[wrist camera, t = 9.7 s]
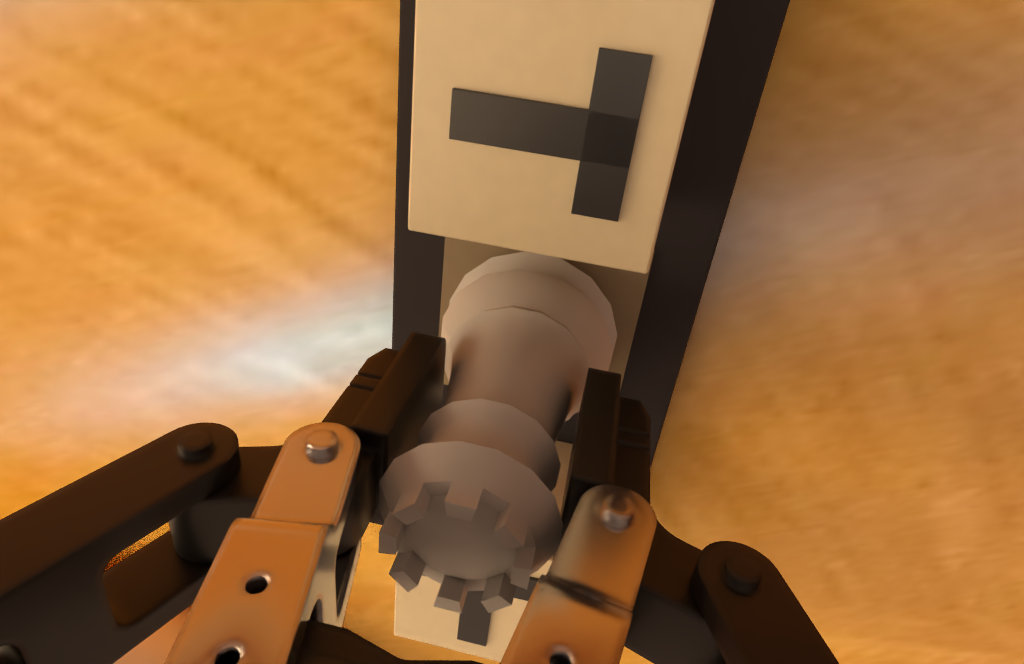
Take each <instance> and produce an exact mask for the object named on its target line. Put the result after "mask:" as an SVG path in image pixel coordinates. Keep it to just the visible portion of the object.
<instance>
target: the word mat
mask: <svg viewBox="0 0 1024 664" xmlns="http://www.w3.org/2000/svg"><path fill="white" fill-rule="evenodd" d="M789 2H790V0H715V3H714V7H713V11H712V15H711V19H710V23H709V28H708V32H707V36H706V40H705V44H704V48H703V52H702V56H701V60H700V64H699V68H698V72H697V76H696V80H695V84H694V88H693V92H692V97H691V101H690V105H689V109H688V113H687V117H686V121H685V125H684V129H683V133H682V137H681V141H680V145H679V149H678V153H677V157H676V162H675V166H674V170H673V174H672V178H671V182H670V186H669V190H668V194H667V198H666V202H665V206H664V210H663V214H662V218H661V222H660V226H659V231H658V235H657V239H656V243H655V247H654V251H653V255H652V259H651V263H650V267H649V271H648V272H647V273H645V274H644V273H638V272H633V271H628V270H622V269H617V268H611V267H606V266H601V265H595V264H590V263H584V262H579V261H574V260H568V259H563V258H561V259H563V260H564V261H566V262H568V263H569V264H571V265H572V266H574V267H575V268H577V269H579V270H580V271H582V272H583V273H585V274H587V275H588V276H590V277H591V278H592V279H593V281H594V282H595V283H596V285H597V286H598V287H599V289H600V290H601V292H602V293H603V294H604V296H605V297H606V298H607V300H608V301H609V303H610V304H611V307H612V312H613V316H614V321H615V326H616V331H617V339H616V343H615V347H614V351H613V355H612V359H611V363H610V366H609V370H608V371H609V372H614V373H619V374H621V385H620V397H623V398H628V399H633V400H638V401H641V402H642V404H643V405H644V407H645V409H646V411H647V412H648V414H649V416H650V417H651V429H650V467H651V463H652V460H653V457H654V453H655V450H656V447H657V443H658V440H659V437H660V433H661V430H662V427H663V423H664V420H665V417H666V413H667V410H668V407H669V403H670V400H671V397H672V393H673V390H674V387H675V383H676V380H677V377H678V373H679V370H680V367H681V363H682V360H683V356H684V353H685V350H686V346H687V343H688V340H689V336H690V333H691V330H692V326H693V323H694V320H695V316H696V313H697V310H698V306H699V303H700V300H701V296H702V293H703V290H704V286H705V283H706V280H707V276H708V273H709V270H710V266H711V263H712V260H713V256H714V253H715V250H716V246H717V243H718V240H719V236H720V233H721V229H722V226H723V223H724V219H725V216H726V213H727V209H728V206H729V203H730V199H731V196H732V193H733V189H734V186H735V183H736V179H737V176H738V173H739V169H740V166H741V163H742V159H743V156H744V153H745V149H746V146H747V143H748V139H749V136H750V133H751V129H752V126H753V123H754V119H755V116H756V113H757V109H758V106H759V102H760V99H761V96H762V92H763V89H764V86H765V82H766V79H767V76H768V72H769V69H770V66H771V62H772V59H773V56H774V52H775V49H776V46H777V42H778V39H779V36H780V32H781V29H782V26H783V22H784V19H785V16H786V12H787V9H788V6H789ZM415 8H416V0H400V38H399V80H398V122H397V164H396V206H395V248H394V290H393V333H392V350H397V351H400V349H401V348H402V346H403V345H404V343H405V342H406V340H407V339H408V337H409V336H410V334H411V333H412V332H418V333H423V334H428V335H433V336H438V337H441V332H442V320H443V316H444V314H445V312H446V311H447V309H448V308H449V302H450V299H451V297H452V296H453V294H454V292H455V291H456V289H457V287H458V286H459V284H460V282H461V281H462V279H463V277H464V276H465V275H466V274H467V273H469V272H470V271H472V270H473V269H475V268H476V267H478V266H479V265H481V264H482V263H484V262H485V261H487V260H488V259H490V258H491V257H496V256H502V255H508V254H513V253H519V252H524V251H519V250H514V249H509V248H503V247H498V246H492V245H487V244H482V243H476V242H471V241H465V240H460V239H455V238H449V237H444V236H438V235H433V234H428V233H422V232H417V231H411V230H409V229H408V210H409V181H410V152H411V123H412V95H413V66H414V37H415ZM448 384H449V381H448V378H447V375H446V372H445V371H444V384H443V396H442V402H441V407H440V408H442V407H443V405H444V401H445V397H446V393H447V388H448ZM578 415H579V412H577V413H575V414H574V415H573V416H572V417H571V418H570V419H569V420H567V421H565V422H564V424H563V427H562V429H561V431H560V434H559V436H558V438H557V440H556V441H561V442H565V443H570V444H573V439H574V434H575V429H576V424H577V419H578Z"/></svg>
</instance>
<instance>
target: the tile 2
mask: <svg viewBox="0 0 1024 664" xmlns="http://www.w3.org/2000/svg"><path fill="white" fill-rule="evenodd" d="M714 3H715V0H416V8H415V37H414V66H413V95H412V123H411V152H410V181H409V210H408V229H409V230H411V231H417V232H422V233H428V234H433V235H438V236H444V237H449V238H455V239H460V240H465V241H471V242H476V243H482V244H487V245H492V246H498V247H503V248H509V249H514V250H519V251H525V252H530V253H536V254H541V255H547V256H552V257H557V258H563V259H568V260H574V261H579V262H584V263H590V264H595V265H601V266H606V267H611V268H617V269H622V270H628V271H633V272H638V273H644V274H645V273H647V272H648V271H649V267H650V263H651V259H652V255H653V251H654V247H655V243H656V239H657V235H658V231H659V226H660V222H661V218H662V214H663V210H664V206H665V202H666V198H667V194H668V190H669V186H670V182H671V178H672V174H673V170H674V166H675V162H676V157H677V153H678V149H679V145H680V141H681V137H682V133H683V129H684V125H685V121H686V117H687V113H688V109H689V105H690V101H691V97H692V92H693V88H694V84H695V80H696V76H697V72H698V68H699V64H700V60H701V56H702V52H703V48H704V44H705V40H706V36H707V32H708V28H709V23H710V19H711V15H712V11H713V7H714Z"/></svg>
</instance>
